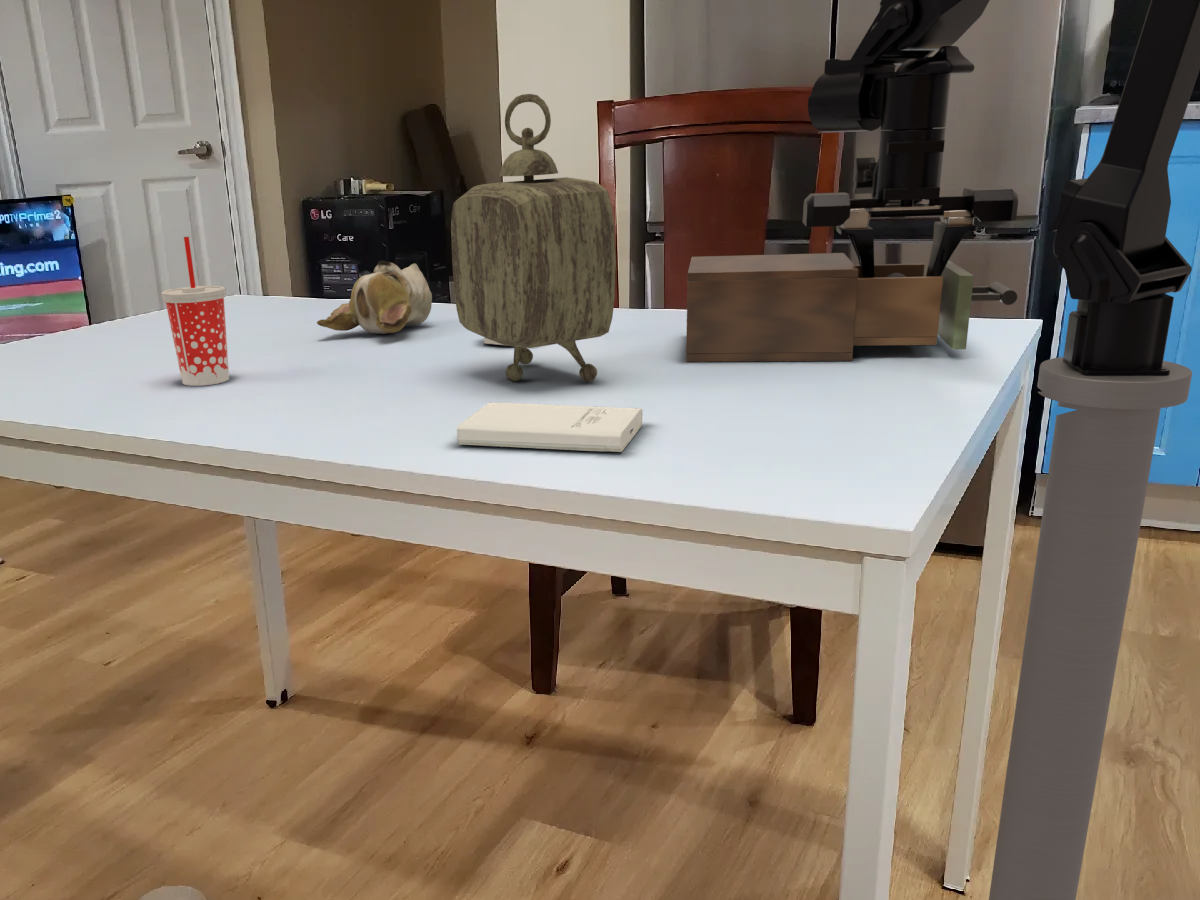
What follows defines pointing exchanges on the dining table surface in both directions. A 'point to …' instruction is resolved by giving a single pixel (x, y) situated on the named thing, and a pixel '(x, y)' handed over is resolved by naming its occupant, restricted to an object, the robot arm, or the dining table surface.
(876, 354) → the dining table surface
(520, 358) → the tabletop clock
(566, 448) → the hard drive
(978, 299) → the drawer
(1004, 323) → the dining table surface
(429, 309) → the ceramic sculpture
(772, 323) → the cabinet
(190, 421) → the dining table surface
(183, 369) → the beverage cup
